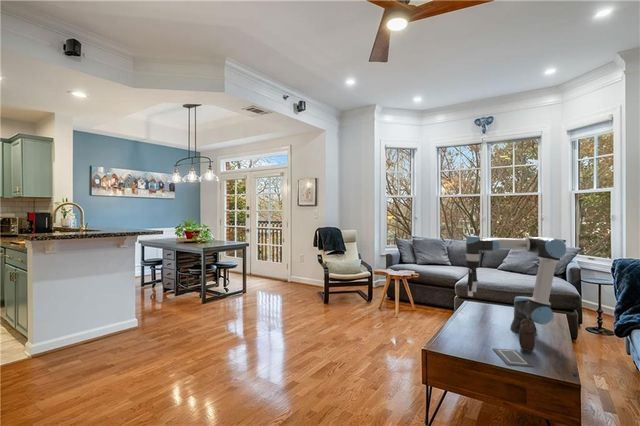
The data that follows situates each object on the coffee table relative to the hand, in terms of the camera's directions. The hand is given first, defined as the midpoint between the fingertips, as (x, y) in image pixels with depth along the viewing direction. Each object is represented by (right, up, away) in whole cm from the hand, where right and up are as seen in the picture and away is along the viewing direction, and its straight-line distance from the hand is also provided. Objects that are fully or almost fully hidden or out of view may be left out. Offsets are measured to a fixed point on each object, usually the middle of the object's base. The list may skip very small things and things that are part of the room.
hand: (472, 293), depth 212 cm
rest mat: (+9, -28, -28) cm, 41 cm away
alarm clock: (+22, -29, -19) cm, 41 cm away
